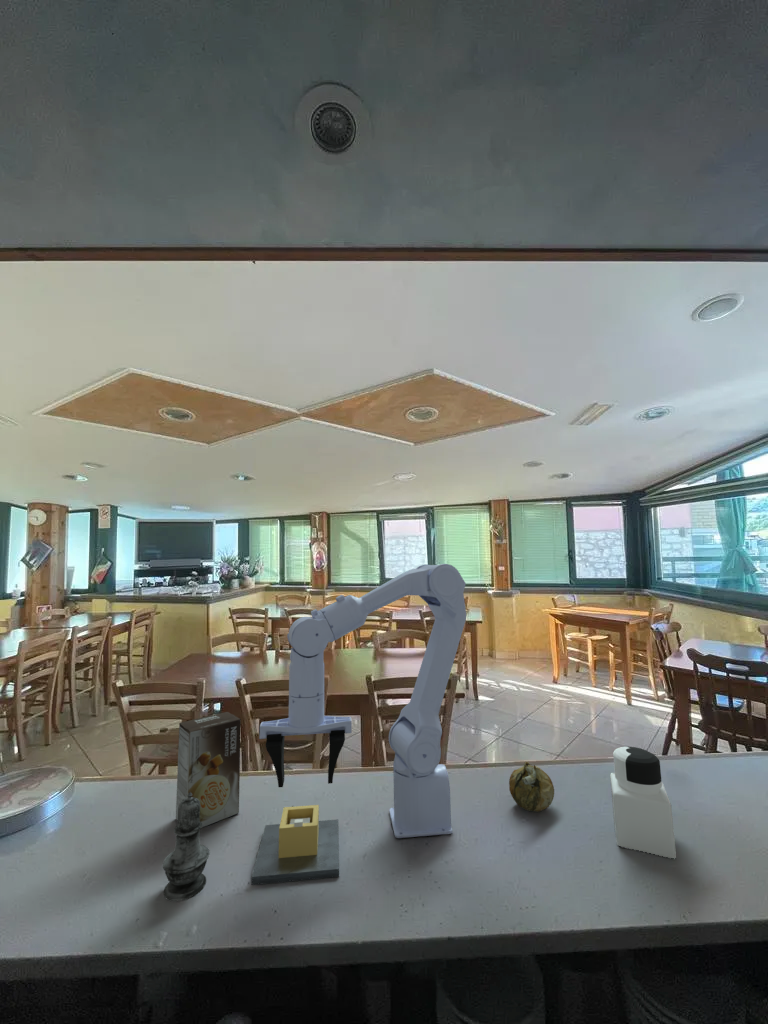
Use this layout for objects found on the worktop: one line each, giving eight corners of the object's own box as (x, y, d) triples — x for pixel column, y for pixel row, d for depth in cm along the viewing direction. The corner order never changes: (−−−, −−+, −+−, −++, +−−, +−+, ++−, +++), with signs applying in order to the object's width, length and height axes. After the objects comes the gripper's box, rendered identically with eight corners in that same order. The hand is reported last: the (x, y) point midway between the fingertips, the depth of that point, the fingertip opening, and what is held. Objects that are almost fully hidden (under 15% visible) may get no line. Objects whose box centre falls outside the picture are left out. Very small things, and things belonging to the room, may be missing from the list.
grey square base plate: (338, 825, 71) (338, 800, 72) (339, 876, 59) (339, 845, 60) (265, 831, 70) (266, 805, 70) (251, 885, 58) (252, 853, 58)
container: (667, 831, 69) (659, 746, 70) (677, 861, 62) (668, 766, 64) (613, 820, 72) (607, 739, 74) (617, 847, 65) (610, 757, 67)
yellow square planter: (318, 831, 68) (318, 800, 69) (317, 854, 62) (317, 820, 63) (283, 834, 67) (283, 803, 68) (278, 858, 62) (279, 823, 62)
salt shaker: (190, 906, 54) (195, 805, 56) (150, 899, 56) (156, 801, 57) (217, 874, 60) (220, 783, 62) (180, 868, 61) (185, 779, 63)
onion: (565, 815, 73) (562, 766, 75) (525, 822, 72) (522, 772, 73) (539, 793, 81) (537, 749, 82) (502, 799, 79) (500, 753, 80)
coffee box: (226, 799, 80) (229, 710, 82) (239, 813, 75) (242, 718, 77) (173, 818, 74) (178, 721, 76) (185, 835, 69) (190, 731, 71)
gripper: (350, 684, 74) (350, 767, 72) (265, 688, 72) (263, 773, 70) (352, 696, 67) (352, 788, 65) (258, 700, 65) (255, 796, 63)
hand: (305, 782), depth 67 cm, fingers open, 7 cm apart
